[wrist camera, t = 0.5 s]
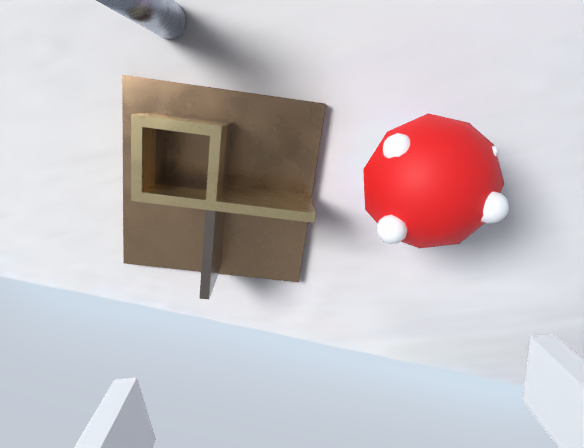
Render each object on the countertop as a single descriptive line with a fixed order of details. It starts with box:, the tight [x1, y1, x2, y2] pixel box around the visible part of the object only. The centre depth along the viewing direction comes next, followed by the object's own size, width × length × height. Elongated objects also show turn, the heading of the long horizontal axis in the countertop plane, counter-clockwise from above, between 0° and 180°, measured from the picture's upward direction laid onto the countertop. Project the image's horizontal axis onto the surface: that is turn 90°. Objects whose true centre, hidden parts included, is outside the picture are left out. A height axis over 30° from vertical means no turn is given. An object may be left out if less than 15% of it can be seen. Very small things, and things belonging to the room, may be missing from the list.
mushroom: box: [363, 114, 510, 248], centre depth 31 cm, size 11×11×12 cm
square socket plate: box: [122, 75, 326, 299], centre depth 33 cm, size 18×18×8 cm
